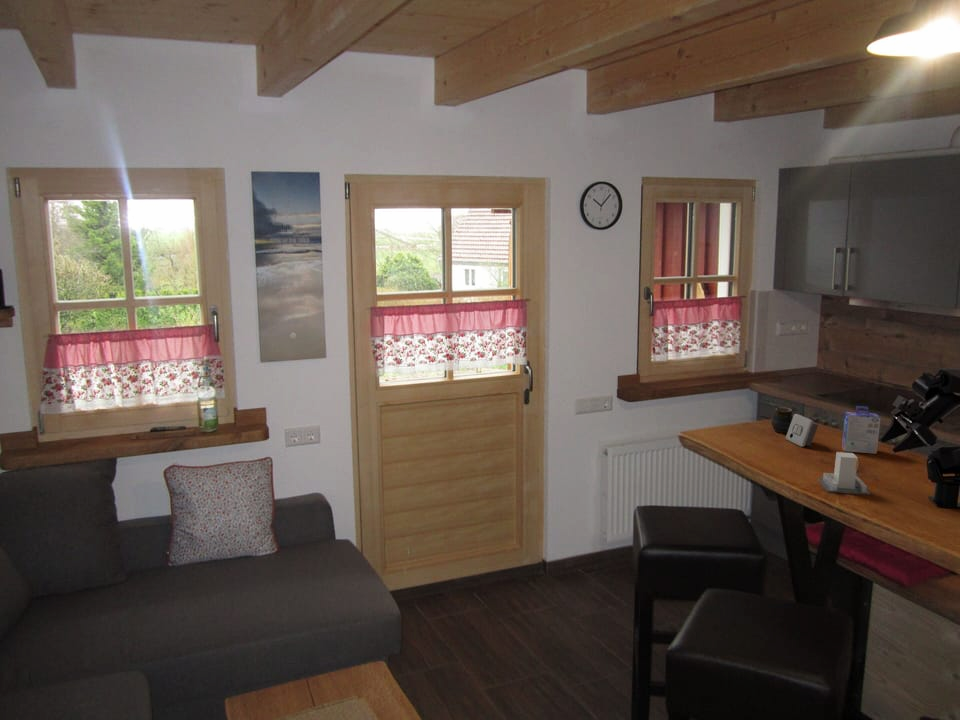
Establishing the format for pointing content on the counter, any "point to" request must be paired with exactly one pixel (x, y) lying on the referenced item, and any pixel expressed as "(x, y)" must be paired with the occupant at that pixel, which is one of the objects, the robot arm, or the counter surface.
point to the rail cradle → (832, 488)
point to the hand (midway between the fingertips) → (887, 446)
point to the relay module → (845, 470)
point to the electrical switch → (801, 431)
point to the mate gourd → (782, 419)
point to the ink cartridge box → (861, 431)
